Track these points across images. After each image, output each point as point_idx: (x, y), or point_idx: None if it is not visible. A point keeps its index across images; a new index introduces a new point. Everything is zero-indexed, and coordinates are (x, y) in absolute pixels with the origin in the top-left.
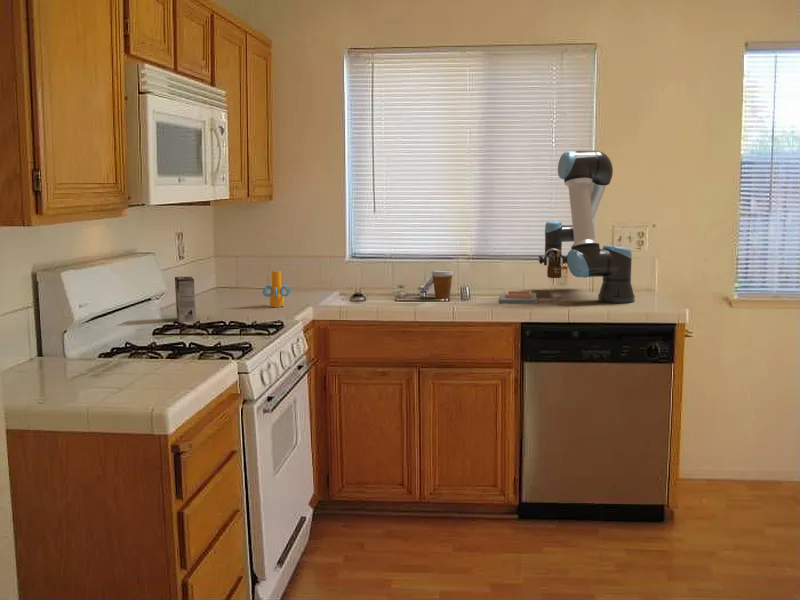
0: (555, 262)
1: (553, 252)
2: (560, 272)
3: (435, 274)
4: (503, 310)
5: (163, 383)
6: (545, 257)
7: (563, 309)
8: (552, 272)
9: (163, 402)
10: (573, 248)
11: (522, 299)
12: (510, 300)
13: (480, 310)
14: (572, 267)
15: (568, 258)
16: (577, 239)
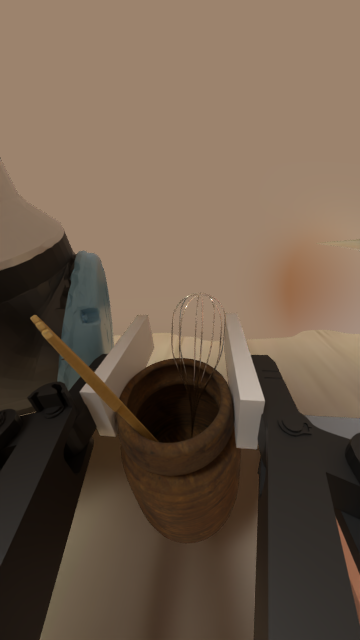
0: (176, 361)
1: (182, 299)
2: (148, 423)
3: None
4: (302, 340)
5: (348, 244)
6: (336, 549)
7: (187, 352)
8: (200, 406)
9: (322, 243)
10: (70, 247)
11: (315, 425)
12: (356, 419)
13: (349, 337)
14: (110, 340)
15: (101, 316)
16: (12, 182)
